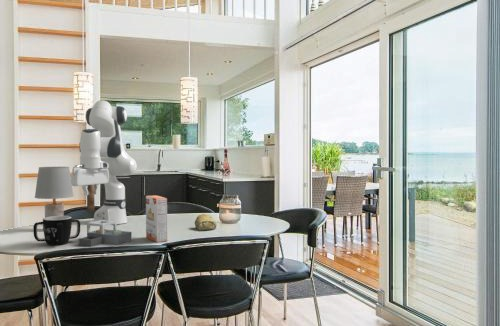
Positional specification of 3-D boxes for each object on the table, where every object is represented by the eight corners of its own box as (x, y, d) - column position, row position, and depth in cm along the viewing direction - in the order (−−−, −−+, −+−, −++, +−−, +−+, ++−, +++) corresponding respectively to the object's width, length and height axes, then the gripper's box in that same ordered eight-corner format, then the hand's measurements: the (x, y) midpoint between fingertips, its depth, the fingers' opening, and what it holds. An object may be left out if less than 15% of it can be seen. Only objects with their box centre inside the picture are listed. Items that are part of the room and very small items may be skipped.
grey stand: (86, 240, 203) (86, 223, 202) (101, 237, 212) (101, 220, 212) (117, 244, 195) (117, 225, 195) (131, 240, 205) (131, 222, 204)
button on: (112, 241, 201) (112, 231, 201) (117, 239, 204) (117, 230, 204) (118, 241, 199) (118, 232, 199) (123, 240, 203) (123, 230, 202)
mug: (29, 245, 192) (29, 219, 191) (57, 239, 207) (57, 214, 206) (57, 248, 186) (57, 221, 186) (84, 241, 201) (84, 216, 201)
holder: (79, 245, 193) (79, 238, 193) (90, 242, 200) (90, 235, 200) (91, 246, 191) (91, 239, 190) (102, 243, 197) (102, 237, 197)
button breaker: (96, 239, 204) (96, 229, 204) (101, 237, 208) (101, 228, 208) (102, 239, 203) (102, 230, 203) (107, 238, 206) (107, 229, 206)
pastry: (202, 226, 246) (202, 212, 245) (221, 227, 240) (221, 213, 240) (188, 230, 233) (188, 215, 233) (207, 232, 227) (207, 217, 227)
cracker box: (145, 237, 211) (145, 195, 210) (156, 236, 214) (156, 194, 213) (155, 243, 199) (155, 198, 198) (167, 241, 202) (167, 197, 202)
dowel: (85, 210, 194) (85, 175, 194) (90, 209, 197) (90, 175, 196) (90, 210, 193) (90, 175, 192) (96, 210, 195) (95, 175, 195)
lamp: (43, 234, 217) (43, 168, 216) (29, 229, 230) (28, 167, 229) (79, 229, 231) (79, 167, 230) (64, 225, 244) (63, 166, 243)
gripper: (78, 165, 183) (78, 197, 184) (111, 164, 202) (111, 193, 203) (67, 165, 186) (67, 196, 186) (100, 163, 205) (100, 192, 205)
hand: (90, 194), depth 195 cm, fingers closed on dowel, 3 cm apart
